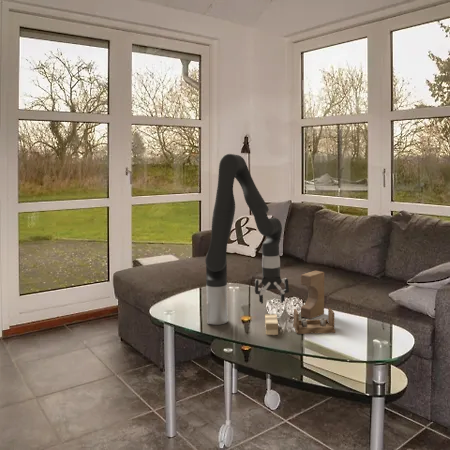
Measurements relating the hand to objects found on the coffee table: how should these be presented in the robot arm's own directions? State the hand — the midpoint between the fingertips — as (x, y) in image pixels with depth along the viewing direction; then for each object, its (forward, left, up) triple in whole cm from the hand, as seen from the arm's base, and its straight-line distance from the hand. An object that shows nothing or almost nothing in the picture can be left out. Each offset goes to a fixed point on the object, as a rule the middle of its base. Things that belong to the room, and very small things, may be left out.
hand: (272, 302), depth 218 cm
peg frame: (+18, -1, -12) cm, 21 cm away
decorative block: (+21, +17, -12) cm, 29 cm away
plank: (0, 0, -12) cm, 12 cm away
